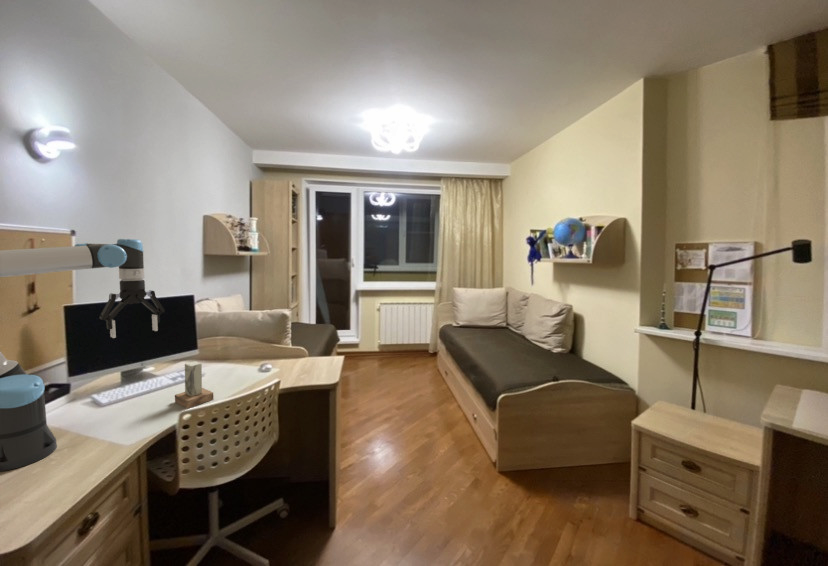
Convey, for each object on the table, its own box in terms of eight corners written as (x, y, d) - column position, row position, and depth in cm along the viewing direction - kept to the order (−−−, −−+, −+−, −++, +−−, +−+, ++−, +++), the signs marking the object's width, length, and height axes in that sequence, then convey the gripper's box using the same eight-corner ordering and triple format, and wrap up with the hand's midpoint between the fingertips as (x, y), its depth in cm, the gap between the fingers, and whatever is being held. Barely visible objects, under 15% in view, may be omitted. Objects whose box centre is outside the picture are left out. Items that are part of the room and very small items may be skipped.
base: (187, 408, 137) (187, 401, 137) (175, 402, 142) (174, 394, 142) (213, 399, 146) (213, 392, 145) (200, 393, 151) (200, 386, 150)
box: (184, 394, 143) (183, 363, 142) (195, 390, 147) (194, 360, 146) (192, 397, 140) (190, 366, 139) (203, 393, 144) (202, 363, 143)
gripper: (93, 282, 122) (97, 342, 124) (173, 278, 143) (175, 329, 145) (85, 281, 126) (89, 338, 128) (164, 277, 147) (166, 326, 149)
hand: (135, 333), depth 136 cm, fingers open, 13 cm apart
